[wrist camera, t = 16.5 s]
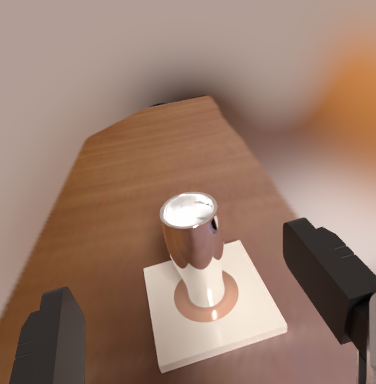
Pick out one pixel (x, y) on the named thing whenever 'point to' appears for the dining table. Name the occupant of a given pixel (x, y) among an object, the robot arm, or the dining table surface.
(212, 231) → the shiny silver metal cup
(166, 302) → the ceramic tile
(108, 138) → the dining table surface
